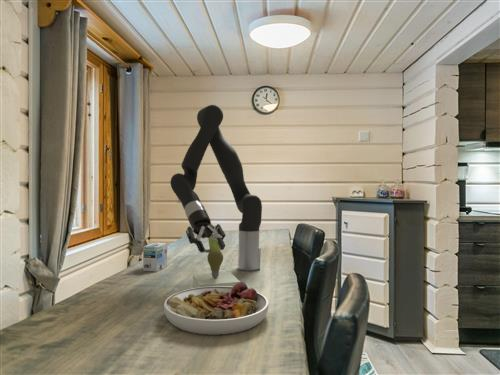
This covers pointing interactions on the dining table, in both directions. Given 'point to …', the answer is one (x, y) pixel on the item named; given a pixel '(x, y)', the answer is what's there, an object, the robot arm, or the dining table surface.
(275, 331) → the dining table surface
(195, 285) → the block
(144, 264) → the light bulb box
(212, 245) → the plant pot
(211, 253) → the light bulb
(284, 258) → the dining table surface
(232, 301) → the bowl
